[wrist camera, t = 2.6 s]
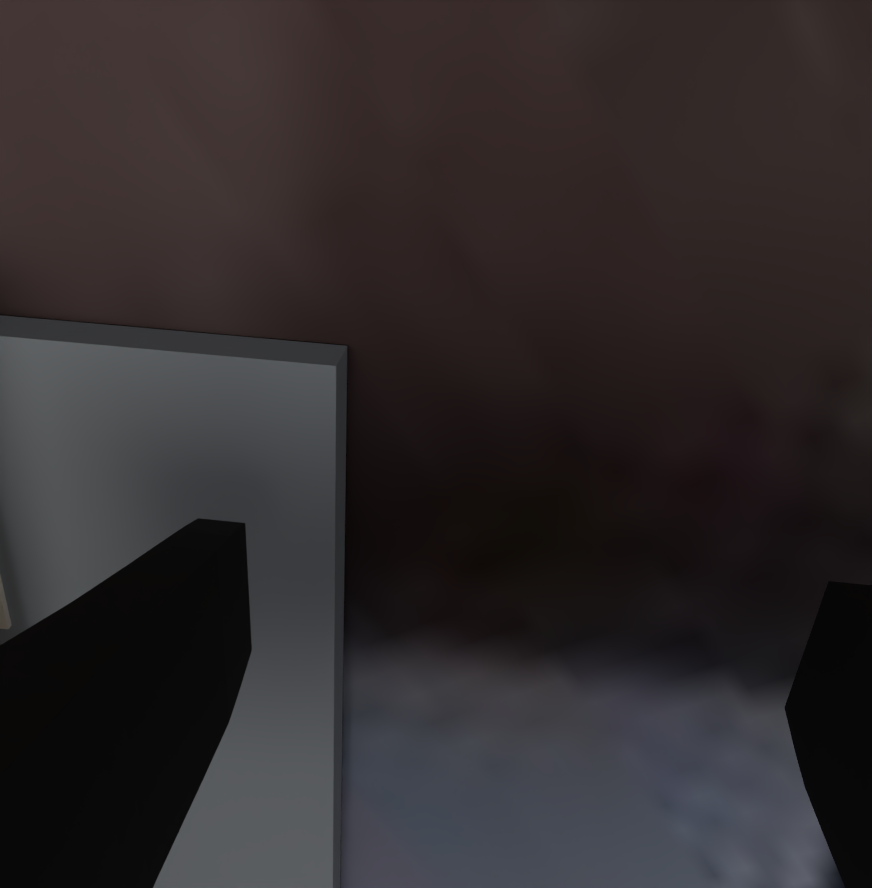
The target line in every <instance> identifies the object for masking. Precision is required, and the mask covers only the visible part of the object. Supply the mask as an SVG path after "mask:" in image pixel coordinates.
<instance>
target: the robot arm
mask: <svg viewBox="0 0 872 888" xmlns="http://www.w3.org/2000/svg"><path fill="white" fill-rule="evenodd" d="M251 651H252V643H251V624H250V604H249V585H248V565H247V546H246V526H245V523H241V522H231V521H221V520H211V519H201V518H198V519H196V520H194V521H193V522H191V523H189V524H188V525H186V526H184V527H183V528H181V529H180V530H178V531H177V532H175V533H174V534H172V535H171V536H169V537H168V538H166V539H165V540H163V541H162V542H160V543H159V544H157V545H156V546H155V547H153V548H152V549H150V550H149V551H147V552H146V553H144V554H143V555H141V556H140V557H138V558H137V559H136V560H134V561H133V562H131V563H130V564H128V565H127V566H125V567H124V568H122V569H121V570H119V571H118V572H116V573H115V574H113V575H112V576H110V577H109V578H107V579H106V580H104V581H103V582H101V583H100V584H98V585H97V586H95V587H94V588H92V589H91V590H89V591H88V592H86V593H85V594H83V595H81V596H80V597H78V598H77V599H75V600H74V601H72V602H71V603H69V604H68V605H66V606H64V607H63V608H61V609H59V610H58V611H56V612H54V613H53V614H51V615H49V616H48V617H46V618H44V619H43V620H41V621H39V622H38V623H36V624H35V625H33V626H31V627H30V628H28V629H26V630H25V631H23V632H21V633H20V634H18V635H16V636H15V637H13V638H11V639H10V640H8V641H6V642H5V643H3V644H1V645H0V888H153V887H154V884H155V882H156V880H157V878H158V876H159V874H160V871H161V869H162V867H163V865H164V863H165V861H166V859H167V856H168V854H169V852H170V850H171V848H172V846H173V843H174V841H175V839H176V837H177V835H178V833H179V830H180V828H181V826H182V824H183V822H184V820H185V818H186V815H187V813H188V811H189V809H190V807H191V805H192V802H193V800H194V798H195V796H196V794H197V792H198V790H199V787H200V785H201V783H202V781H203V779H204V777H205V774H206V772H207V770H208V768H209V766H210V763H211V761H212V759H213V757H214V755H215V752H216V750H217V748H218V746H219V744H220V742H221V739H222V737H223V735H224V733H225V730H226V728H227V726H228V724H229V721H230V718H231V715H232V712H233V709H234V706H235V703H236V700H237V697H238V694H239V691H240V687H241V684H242V681H243V678H244V674H245V671H246V668H247V664H248V661H249V658H250V655H251ZM785 711H786V715H787V719H788V724H789V728H790V732H791V736H792V740H793V744H794V749H795V752H796V756H797V760H798V763H799V767H800V771H801V774H802V778H803V782H804V785H805V788H806V791H807V793H808V796H809V798H810V801H811V804H812V806H813V809H814V811H815V814H816V816H817V819H818V821H819V824H820V826H821V829H822V831H823V834H824V836H825V839H826V841H827V844H828V846H829V849H830V851H831V854H832V856H833V859H834V861H835V864H836V866H837V869H838V871H839V873H840V876H841V878H842V881H843V883H844V886H845V888H872V586H870V585H860V584H850V583H840V582H830V581H829V582H828V585H827V588H826V591H825V594H824V597H823V599H822V602H821V605H820V608H819V611H818V614H817V616H816V619H815V622H814V625H813V628H812V631H811V634H810V636H809V639H808V642H807V645H806V648H805V651H804V654H803V656H802V659H801V662H800V665H799V668H798V671H797V674H796V676H795V679H794V682H793V685H792V688H791V691H790V694H789V696H788V699H787V702H786V705H785Z"/></svg>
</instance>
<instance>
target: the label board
mask: <svg viewBox="0 0 872 888" xmlns="http://www.w3.org/2000/svg"><path fill="white" fill-rule="evenodd" d="M346 413H347V346H344V345H332V344H321V343H310V342H298V341H287V340H276V339H264V338H253V337H241V336H230V335H219V334H207V333H196V332H185V331H173V330H162V329H151V328H139V327H128V326H117V325H105V324H94V323H83V322H71V321H60V320H48V319H37V318H26V317H14V316H3V315H0V645H1V644H3V643H5V642H6V641H8V640H10V639H11V638H13V637H15V636H16V635H18V634H20V633H21V632H23V631H25V630H26V629H28V628H30V627H31V626H33V625H35V624H36V623H38V622H39V621H41V620H43V619H44V618H46V617H48V616H49V615H51V614H53V613H54V612H56V611H58V610H59V609H61V608H63V607H64V606H66V605H68V604H69V603H71V602H72V601H74V600H75V599H77V598H78V597H80V596H81V595H83V594H85V593H86V592H88V591H89V590H91V589H92V588H94V587H95V586H97V585H98V584H100V583H101V582H103V581H104V580H106V579H107V578H109V577H110V576H112V575H113V574H115V573H116V572H118V571H119V570H121V569H122V568H124V567H125V566H127V565H128V564H130V563H131V562H133V561H134V560H136V559H137V558H138V557H140V556H141V555H143V554H144V553H146V552H147V551H149V550H150V549H152V548H153V547H155V546H156V545H157V544H159V543H160V542H162V541H163V540H165V539H166V538H168V537H169V536H171V535H172V534H174V533H175V532H177V531H178V530H180V529H181V528H183V527H184V526H186V525H188V524H189V523H191V522H193V521H194V520H196V519H198V518H201V519H211V520H221V521H231V522H241V523H245V526H246V546H247V565H248V585H249V604H250V624H251V643H252V651H251V655H250V658H249V661H248V664H247V668H246V671H245V674H244V678H243V681H242V684H241V687H240V691H239V694H238V697H237V700H236V703H235V706H234V709H233V712H232V715H231V718H230V721H229V724H228V726H227V728H226V730H225V733H224V735H223V737H222V739H221V742H220V744H219V746H218V748H217V750H216V752H215V755H214V757H213V759H212V761H211V763H210V766H209V768H208V770H207V772H206V774H205V777H204V779H203V781H202V783H201V785H200V787H199V790H198V792H197V794H196V796H195V798H194V800H193V802H192V805H191V807H190V809H189V811H188V813H187V815H186V818H185V820H184V822H183V824H182V826H181V828H180V830H179V833H178V835H177V837H176V839H175V841H174V843H173V846H172V848H171V850H170V852H169V854H168V856H167V859H166V861H165V863H164V865H163V867H162V869H161V871H160V874H159V876H158V878H157V880H156V882H155V884H154V887H153V888H340V866H341V791H342V715H343V640H344V564H345V489H346Z"/></svg>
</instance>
